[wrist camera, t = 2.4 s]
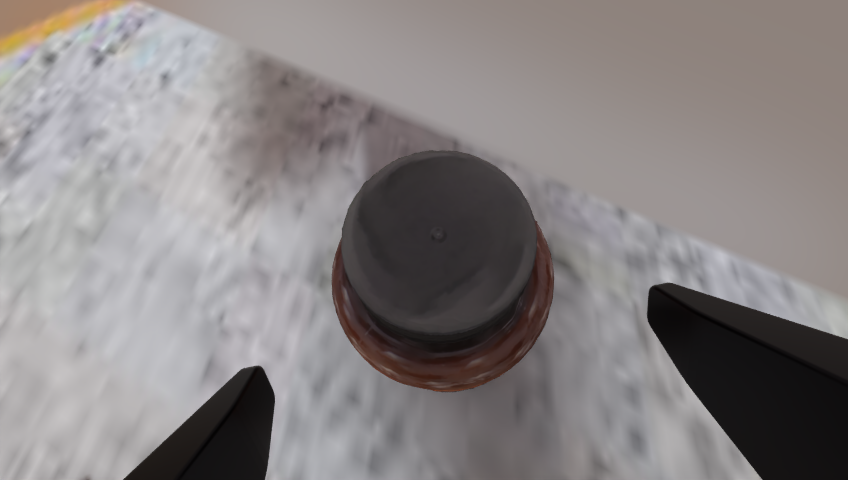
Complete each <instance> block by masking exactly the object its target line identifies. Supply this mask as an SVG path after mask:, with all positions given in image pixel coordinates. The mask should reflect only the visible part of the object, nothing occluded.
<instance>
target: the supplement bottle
mask: <svg viewBox="0 0 848 480" xmlns="http://www.w3.org/2000/svg"><path fill="white" fill-rule="evenodd" d="M553 287H554V269H553V264H552V258H551V254H550V251H549V248H548V245H547V242H546V240H545V238H544V235H543V233H542V231H541V229H540V227H539V226H538V224H537V221H535V219H534V217H533V214H532V211H531V208H530V206H529V204H528V202H527V200H526V198H525V197H524V195H523V194H522V192H521V190H520V189H519V188H518V187H517V185H516V184H515V183H514V182H513V181H512V180H511V179H510V178H509V177H508V176H507V175H506V174H505V173H504V172H502V171H501V170H500V169H498V168H497V167H496V166H494V165H492V164H490V163H488V162H487V161H484V160H482V159H480V158H478V157H475V156H473V155H470V154H466V153H461V152H455V151H425V152H420V153H414V154H412V155H409V156H406V157H402V158H399V159H397V160H396V161H394V162H392V163H390V164H389V165H387V166H385V167H384V168H383V169H381V170H380V171H379V172H377V173H376V174H375V175H374V176H372V178H371V179H370V180H368V181H366V182H365V183H364V184H363V186H362V188H361V190H360V191H359V192H358V194H357V195H356V196H355V198H354V199H353V201H352V203H351V205H350V207H349V208H348V212H347V215H346V218H345V221H344V225H343V228H342V238H341V240H340V243H339V246H338V249H337V251H336V254H335V258H334V263H333V270H332V295H333V300H334V305H335V308H336V313H337V316H338V318H339V321H340V323H341V326H342V328H343V330H344V332H345V334H346V336H347V337H348V339H349V340H350V342H351V344H352V345H353V346H354V348H355V349H356V350H357V351H358V352H359V353H360V355H361V356H362V357H363V358H364V359H365V360H366V361H367V362H368V363H369V364H370V365H371V366H373V367H374V368H375V369H376V370H378V371H379V372H381V373H382V374H384V375H386V376H387V377H389V378H391V379H393V380H395V381H397V382H400V383H403V384H406V385H410V386H414V387H418V388H423V389H430V390H433V391H439V392H456V391H462V390H467V389H472V388H475V387H477V386H480V385H483V384H485V383H487V382H489V381H491V380H493V379H495V378H497V377H499V376H500V375H502V374H503V373H505V372H506V371H508V370H509V369H511V368H512V367H513V366H514V365H515V364H517V363H518V362H519V361H520V360H521V359H522V358H523V357H524V356H525V355H526V354H527V352H528V351H529V350H530V349H531V348H532V346H533V345H534V344H535V342H536V340H537V338H538V337H539V335H540V333H541V332H542V330H543V328H544V326H545V323H546V320H547V318H548V314H549V310H550V307H551V303H552V299H553Z"/></svg>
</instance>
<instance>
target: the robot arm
mask: <svg viewBox="0 0 848 480" xmlns="http://www.w3.org/2000/svg"><path fill="white" fill-rule="evenodd" d="M647 318H648V322H649V325H650V326H651V328H652V330H653V331H654V333H655V334H656V336H657V338H658V339H659V341H660V342H661V344H662V345H663V347H664V349H665V350H666V352H667V353H668V355H669V357H670V358H671V360H672V361H673V363H674V364H675V366H676V368H677V369H678V371H679V372H680V374H681V375H682V377H683V378H684V380H685V381H686V383H687V384H688V385H689V387H690V388H691V389H692V391H693V392H694V393H695V395H696V396H697V397H698V398H699V400H700V401H701V402H702V403H703V405H704V406H705V407H706V409H707V410H708V411H709V412H710V414H711V415H712V416H713V417H714V419H715V420H716V421H717V423H718V424H719V425H720V426H721V428H722V429H723V430H724V431H725V433H726V434H727V435H728V436H729V438H730V439H731V440H732V442H733V443H734V444H735V445H736V447H737V448H738V449H739V450H740V452H741V453H742V454H743V456H744V457H745V458H746V459H747V461H748V462H749V463H750V464H751V466H752V467H753V468H754V470H755V471H756V472H757V473H758V475H759V476H760V477H761V478H762V480H848V339H845V338H842V337H839V336H836V335H833V334H830V333H827V332H823V331H820V330H817V329H814V328H811V327H808V326H805V325H801V324H798V323H795V322H792V321H789V320H786V319H783V318H779V317H776V316H773V315H770V314H767V313H764V312H761V311H757V310H754V309H751V308H748V307H745V306H742V305H739V304H735V303H732V302H729V301H726V300H723V299H720V298H717V297H714V296H710V295H707V294H704V293H701V292H698V291H695V290H692V289H688V288H685V287H682V286H679V285H676V284H673V283H663V284H659V285H654V286H652V287H651V288H650V290H649V296H648V309H647ZM274 405H275V395H274V391H273V389H272V387H271V384H270V382H269V380H268V378H267V376H266V373H265V371H264V369H263V368H262V367H261V366H253V367H248V368H243V369H241V370H240V371H239V372H238V373H237V374H236V375H235V376H233V377H232V378H231V379H230V380H229V381H228V382H227V383H226V384H225V385H224V386H223V387H222V388H221V389H220V390H218V391H217V392H216V393H215V394H214V395H213V396H212V397H211V398H210V399H209V400H208V401H207V402H206V403H205V404H203V405H202V406H201V407H200V408H199V409H198V410H197V411H196V412H195V413H194V414H193V415H192V416H191V417H190V418H189V419H187V420H186V421H185V422H184V423H183V424H182V425H181V426H180V427H179V428H178V429H177V430H176V431H175V432H174V433H172V434H171V435H170V436H169V437H168V438H167V439H166V440H165V441H164V442H163V443H162V444H161V445H160V446H159V447H157V448H156V449H155V450H154V451H153V452H152V453H151V454H150V455H149V456H148V457H147V458H146V459H145V460H144V461H142V462H141V463H140V464H139V465H138V466H137V467H136V468H135V469H134V470H133V471H132V472H131V473H130V474H129V475H127V476H126V477H125V478H124V479H123V480H265V477H266V472H267V466H268V459H269V450H270V441H271V432H272V423H273V414H274Z"/></svg>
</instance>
